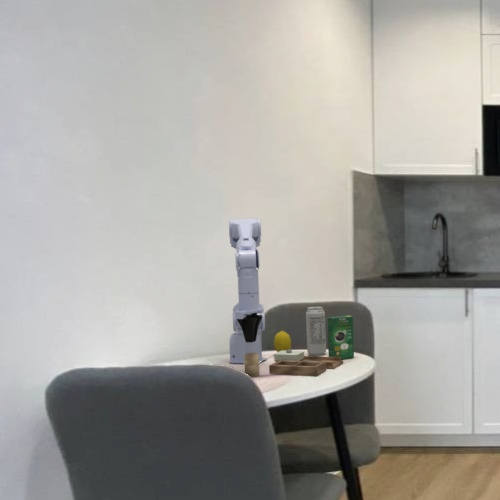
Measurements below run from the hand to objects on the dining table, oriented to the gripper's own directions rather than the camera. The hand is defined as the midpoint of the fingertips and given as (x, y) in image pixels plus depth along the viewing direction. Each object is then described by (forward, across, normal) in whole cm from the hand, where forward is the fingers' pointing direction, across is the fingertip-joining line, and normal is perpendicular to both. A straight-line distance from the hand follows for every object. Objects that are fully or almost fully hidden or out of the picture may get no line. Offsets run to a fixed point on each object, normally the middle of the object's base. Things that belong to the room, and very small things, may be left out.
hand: (250, 341), depth 201 cm
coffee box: (+10, +29, -17) cm, 35 cm away
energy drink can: (+10, +35, -7) cm, 37 cm away
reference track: (+9, +18, -10) cm, 23 cm away
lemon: (+10, +31, +3) cm, 33 cm away
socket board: (+9, +7, -11) cm, 16 cm away
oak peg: (+9, 0, 0) cm, 9 cm away
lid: (+8, +18, -4) cm, 20 cm away
